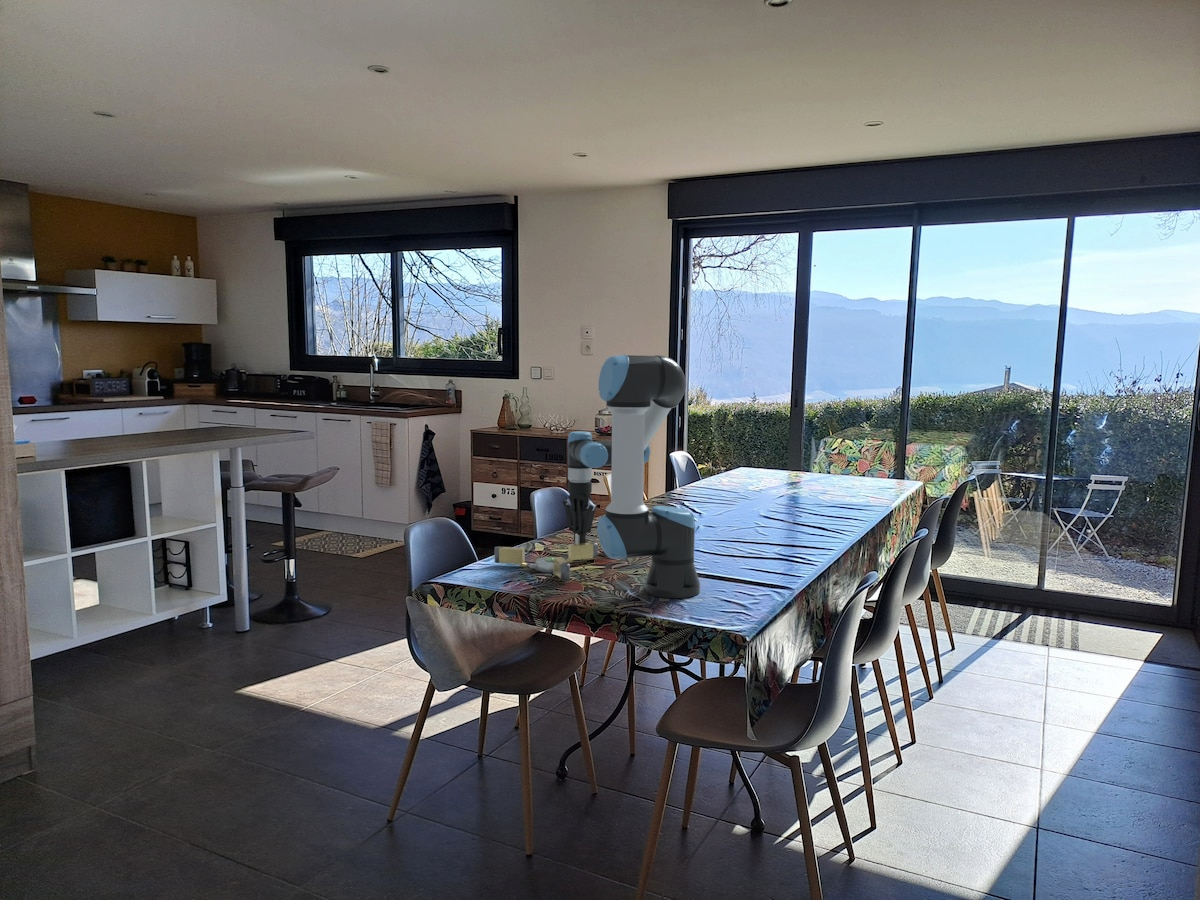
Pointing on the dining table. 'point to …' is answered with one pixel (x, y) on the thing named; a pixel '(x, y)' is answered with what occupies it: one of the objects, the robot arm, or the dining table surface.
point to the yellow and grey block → (510, 555)
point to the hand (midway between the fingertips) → (579, 553)
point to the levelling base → (544, 565)
